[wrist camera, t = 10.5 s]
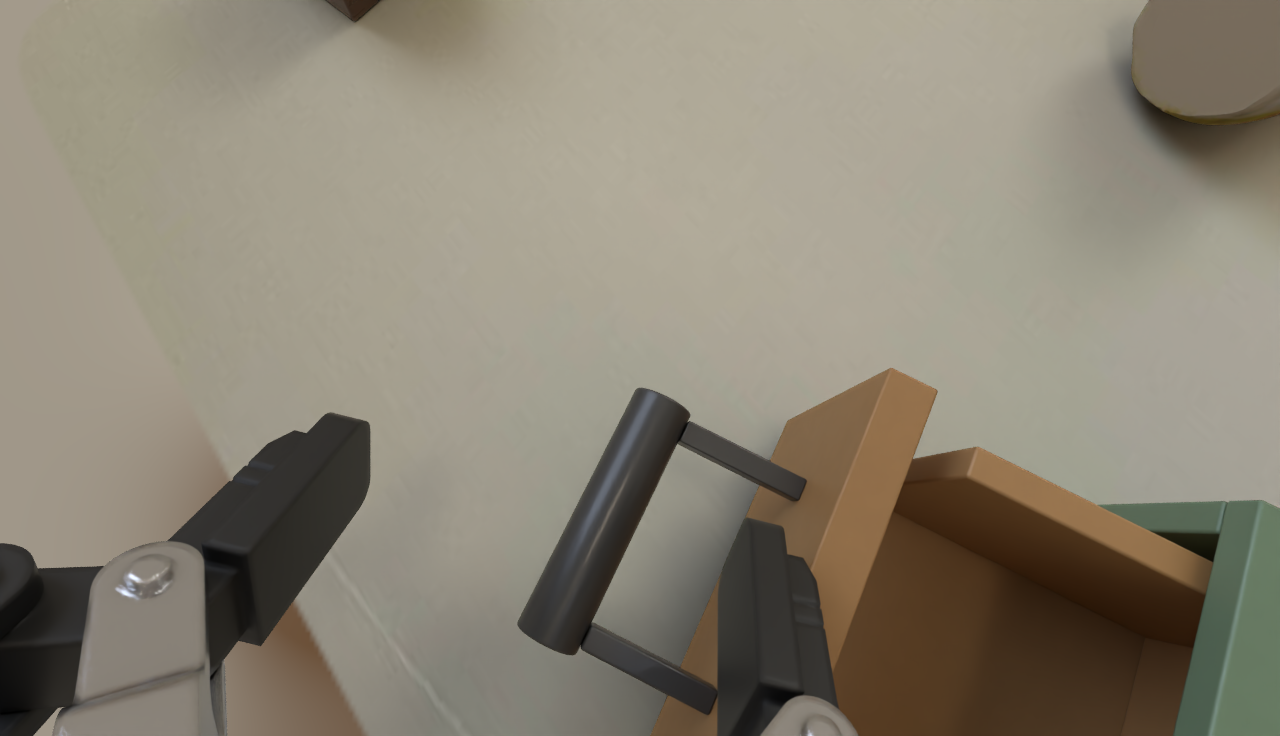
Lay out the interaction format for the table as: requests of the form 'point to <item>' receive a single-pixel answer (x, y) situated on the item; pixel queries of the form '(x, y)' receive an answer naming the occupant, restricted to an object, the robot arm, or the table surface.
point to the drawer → (905, 577)
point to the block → (353, 7)
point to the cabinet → (1227, 613)
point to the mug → (1209, 59)
